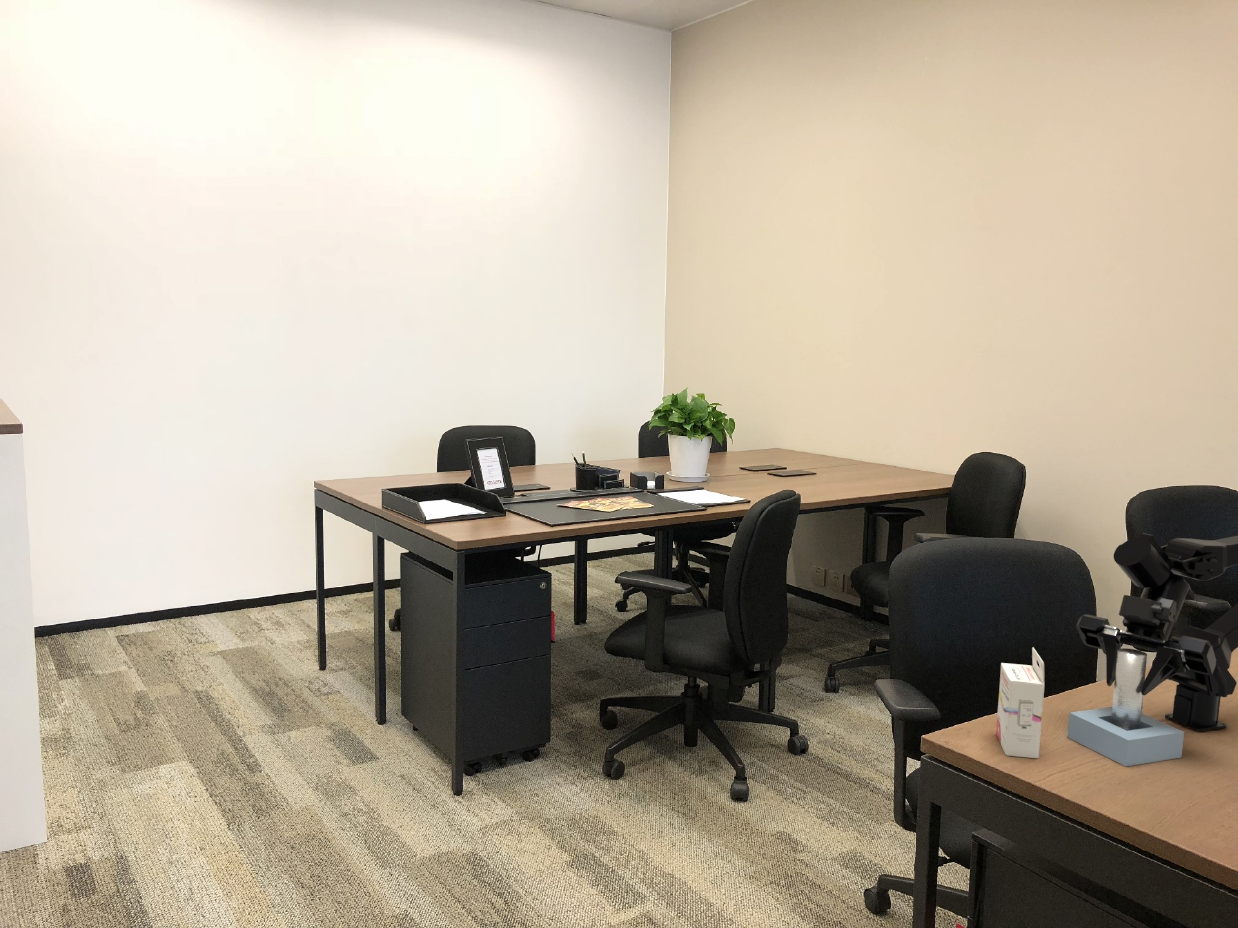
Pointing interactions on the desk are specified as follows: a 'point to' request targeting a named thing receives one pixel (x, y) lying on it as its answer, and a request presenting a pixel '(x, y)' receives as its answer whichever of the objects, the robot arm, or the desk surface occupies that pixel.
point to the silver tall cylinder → (1128, 689)
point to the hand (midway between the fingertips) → (1125, 689)
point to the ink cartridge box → (1021, 708)
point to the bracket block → (1125, 737)
